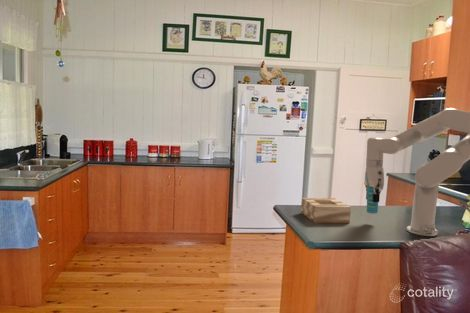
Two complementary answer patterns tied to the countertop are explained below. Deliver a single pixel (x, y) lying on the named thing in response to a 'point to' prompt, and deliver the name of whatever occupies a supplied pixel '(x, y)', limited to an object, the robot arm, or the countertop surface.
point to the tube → (371, 200)
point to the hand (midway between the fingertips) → (372, 200)
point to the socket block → (325, 210)
